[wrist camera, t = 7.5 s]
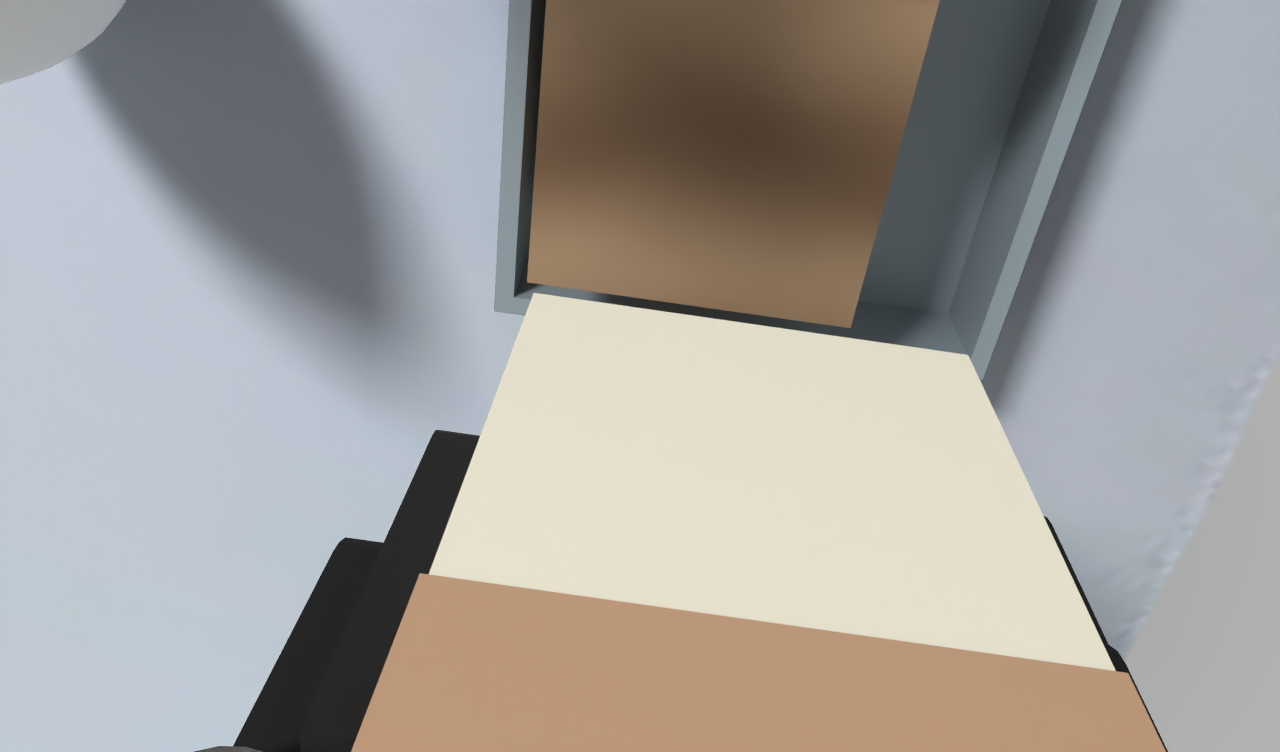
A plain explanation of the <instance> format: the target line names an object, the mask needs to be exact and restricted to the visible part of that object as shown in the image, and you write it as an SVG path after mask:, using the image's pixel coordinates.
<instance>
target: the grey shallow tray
mask: <svg viewBox="0 0 1280 752" xmlns="http://www.w3.org/2000/svg"><path fill="white" fill-rule="evenodd" d="M1121 1H1122V0H940V1H939V5H938V9H937V12H936V16H935V20H934V23H933V27H932V31H931V34H930V38H929V42H928V45H927V49H926V53H925V56H924V60H923V64H922V67H921V71H920V75H919V78H918V82H917V86H916V89H915V93H914V97H913V100H912V104H911V108H910V111H909V115H908V119H907V122H906V126H905V130H904V133H903V137H902V141H901V144H900V148H899V152H898V156H897V159H896V163H895V167H894V170H893V174H892V178H891V181H890V185H889V189H888V192H887V196H886V200H885V203H884V207H883V211H882V214H881V218H880V222H879V225H878V229H877V233H876V236H875V240H874V244H873V247H872V251H871V255H870V258H869V262H868V266H867V269H866V273H865V277H864V280H863V284H862V288H861V291H860V295H859V299H858V303H857V306H856V310H855V314H854V317H853V321H852V325H851V328H846V327H839V326H832V325H824V324H817V323H810V322H803V321H796V320H789V319H782V318H775V317H768V316H761V315H754V314H747V313H740V312H733V311H726V310H719V309H712V308H705V307H698V306H690V305H683V304H676V303H669V302H662V301H655V300H648V299H641V298H634V297H627V296H620V295H613V294H606V293H599V292H592V291H585V290H578V289H571V288H564V287H556V286H549V285H542V284H535V283H528V282H527V275H528V260H529V245H530V231H531V216H532V201H533V187H534V172H535V157H536V143H537V128H538V113H539V99H540V84H541V69H542V55H543V40H544V25H545V11H546V0H509V20H508V40H507V60H506V81H505V101H504V121H503V142H502V162H501V182H500V203H499V223H498V243H497V264H496V284H495V304H494V311H496V312H503V313H510V314H518V315H526V312H527V309H528V307H529V304H530V301H531V299H532V296H533V293H539V294H546V295H553V296H560V297H567V298H574V299H581V300H588V301H595V302H602V303H609V304H616V305H623V306H629V307H636V308H643V309H650V310H657V311H664V312H671V313H678V314H685V315H692V316H699V317H706V318H713V319H720V320H727V321H734V322H741V323H748V324H755V325H762V326H769V327H776V328H783V329H790V330H797V331H804V332H811V333H818V334H825V335H832V336H839V337H846V338H853V339H860V340H867V341H874V342H881V343H888V344H895V345H902V346H909V347H916V348H923V349H930V350H937V351H944V352H951V353H958V354H965V355H968V356H969V358H970V360H971V362H972V364H973V366H974V369H975V371H976V373H977V375H978V377H979V379H980V380H983V378H984V375H985V372H986V370H987V367H988V364H989V361H990V359H991V356H992V353H993V351H994V348H995V345H996V342H997V340H998V337H999V334H1000V331H1001V329H1002V326H1003V323H1004V321H1005V318H1006V315H1007V312H1008V310H1009V307H1010V304H1011V301H1012V299H1013V296H1014V293H1015V291H1016V288H1017V285H1018V282H1019V280H1020V277H1021V274H1022V271H1023V269H1024V266H1025V263H1026V260H1027V258H1028V255H1029V252H1030V250H1031V247H1032V244H1033V241H1034V239H1035V236H1036V233H1037V230H1038V228H1039V225H1040V222H1041V220H1042V217H1043V214H1044V211H1045V209H1046V206H1047V203H1048V200H1049V198H1050V195H1051V192H1052V190H1053V187H1054V184H1055V181H1056V179H1057V176H1058V173H1059V170H1060V168H1061V165H1062V162H1063V160H1064V157H1065V154H1066V151H1067V149H1068V146H1069V143H1070V140H1071V138H1072V135H1073V132H1074V130H1075V127H1076V124H1077V121H1078V119H1079V116H1080V113H1081V110H1082V108H1083V105H1084V102H1085V100H1086V97H1087V94H1088V91H1089V89H1090V86H1091V83H1092V80H1093V78H1094V75H1095V72H1096V69H1097V67H1098V64H1099V61H1100V59H1101V56H1102V53H1103V50H1104V48H1105V45H1106V42H1107V39H1108V37H1109V34H1110V31H1111V29H1112V26H1113V23H1114V20H1115V18H1116V15H1117V12H1118V9H1119V7H1120V4H1121Z"/></svg>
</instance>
